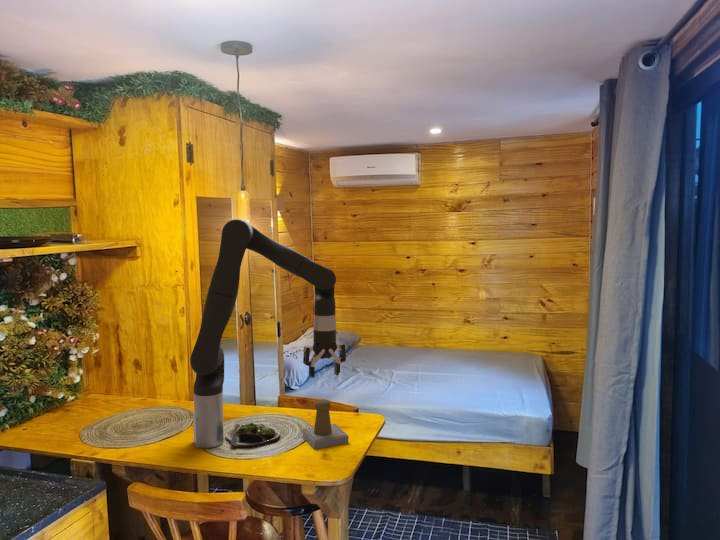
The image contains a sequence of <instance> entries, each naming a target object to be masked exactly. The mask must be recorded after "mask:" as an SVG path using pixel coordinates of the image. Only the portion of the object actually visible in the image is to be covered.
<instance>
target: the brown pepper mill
mask: <svg viewBox="0 0 720 540" xmlns="http://www.w3.org/2000/svg"><path fill="white" fill-rule="evenodd" d="M314 407H315V410H316V413H315V419H314V426H313V427H314V434H316V435H320V436H324V435H329V434H331V433H332V429H331V424H332V422H331V417H330V409H331V401H330V400H329V399H325V398H321V399H318V400H316V401H315V402H314Z"/></svg>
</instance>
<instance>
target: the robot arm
mask: <svg viewBox="0 0 720 540" xmlns="http://www.w3.org/2000/svg"><path fill="white" fill-rule="evenodd" d="M246 250H249V251H253V252H255V253H257V254H259V255H260V256H263V257H264V258H266V259H268V260H269V261H270V262H272V263H274V264H275V265H276V266H278V267H280V268H281V269H283V270H285V271H286V272H288V273H291V275H294V276H297V277H299V278H301V279H303V281H306V282H308V283H309V284H311V285H312V286H313V287H314V304H313V305H314V306H313V311H314V312H313V324H312V328H313V331H312V333H313V334H312V335H313V336H312V337H313V338H312V339H313V345H312V346H307V345H305V346H304V347H303V358H302V359H303V360H302V363H303V364H304V365H305V366H308V376H310V378H311V379H315V377H316V376H315V368H316V367H315V365H316V364H317V362H319V360H320V359H321V360H324V359H330V358H332V359H333V361H334V365H333V366H334V371H333V373H334V375H335V376H338V375H339V374H340V373H341V364H342V363H345V362H346V361H347V357H346V353H347V352H346V345H345V344H344V343H342V342H339V344H337V319H336V299H335V285H336V282H337V277H336V274H335V272H334V271H333V270H332V269H331V268H329V267H326V266H323V265H321V264H319V263H317V262H315V261H313V260H312V259H311V258H310V257H307V256H306V255H304V254H302V253H300V252H298V251H296V250H294V249H293V248H289V247H288V246H286V245H284V244H283V243H282V244H281V243H280V242H278V241H276V240H274V239H272V238H270V237H269V236H268V235H266V234H264V233H262V232H261V231H259V230H258V229H257V228H255V227H254V226H253V225H251V224H250V223H249V222H248V220H245V219H242V218H234V219H233V218H232V219H231V220H229V221H228V222H226V223H225V224H224V226H223V227H222V231H221V238H220V246H219V253H218V258H217V262H216V265H215V268H214V270H213V273H212V276H211V279H210V283H209V286H208V291H207V294H206V298H205V302H204V303H205V304H204V308H203V313H202V316H201V317H202V318H201V322H200V328H199V333H198V336H197V338H196V341H195V342H194V343H195V344H194V346H193V349H192V351H191V354H190V357H189V358H190V359H189V360H190V362H189V363H190V366H191V369H192V371H193V372H194V373H196V377H195V381H194V384H193V411H194V412H193V414H192V415H193V418H192V419H193V421H192V422H193V443H194V446H195V449H198V448H199V449H200V448H202V449H206V448H208V449H209V448H215V447H219V446H220V445H222V444H224V440H225V439H224V438H225V437H224V436H225V434H224V394H223V393H224V390H223V389H224V381H225V353H224V349H223V348H222V346H221V341H222V337H223V335H224V332H225V329H226V328H227V325H228V324H229V321H230V319H231V317H232V315H233V311H234V308H235V306H236V303H237V299H238V294H239V288H240V279H241V268H242V267H241V266H242V263H243V260H244V256H245V253H246ZM336 350H338V351H339V357H338V355H337V354H336V353H335V352H336ZM312 352H314V353H313V354H312V356H311V358H310V354H311V353H312Z"/></svg>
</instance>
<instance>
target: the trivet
mask: <svg viewBox="0 0 720 540" xmlns="http://www.w3.org/2000/svg"><path fill="white" fill-rule="evenodd" d="M314 427H315V426H312V427H306V428H302V430H301V431H302V435H303V436H304V437H303V436H302V437H303V438H304V440H305V441H306V442H307V443H308V444H309V445H310V447H312V448H313V450H318V449H325V448H329V447H335V446H340V445H341V446H342V445H346V444H349V435H348V434H347V433H346V432H345V431H344V430H343V429H342V428H340V427H339V426H338V425H337V424H336V423H331V429H332V433H331V434H329V435H324V436H320V435H316V434H314Z"/></svg>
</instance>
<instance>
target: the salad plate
mask: <svg viewBox="0 0 720 540" xmlns="http://www.w3.org/2000/svg"><path fill="white" fill-rule="evenodd" d="M257 430H260V431H257ZM225 437H226V439H227V440H228V441H229V442H230V444H231V446H234V447H237V448H239V447H241V449H253V448H252V447H255V448H259V447H258V446H260V447H263V446H266V445H265V444H268V445H270V444H269V443H271V444H273V443H276V442H277V441H278V440H279V439H280V437H281V432H280V431H279V430H277V429H275V428H273V427H272V426H271V425H269V424H267V423H266V424H265V423H256V424H255V423H254V422H250V423H246V424H245V423H244V422H243V423H242V424H240V423H236V424H234V427H233V429H230V430H228V431H227V432H226V433H225ZM267 440H269V441H267ZM272 442H273V443H272ZM262 445H263V446H262Z"/></svg>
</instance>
